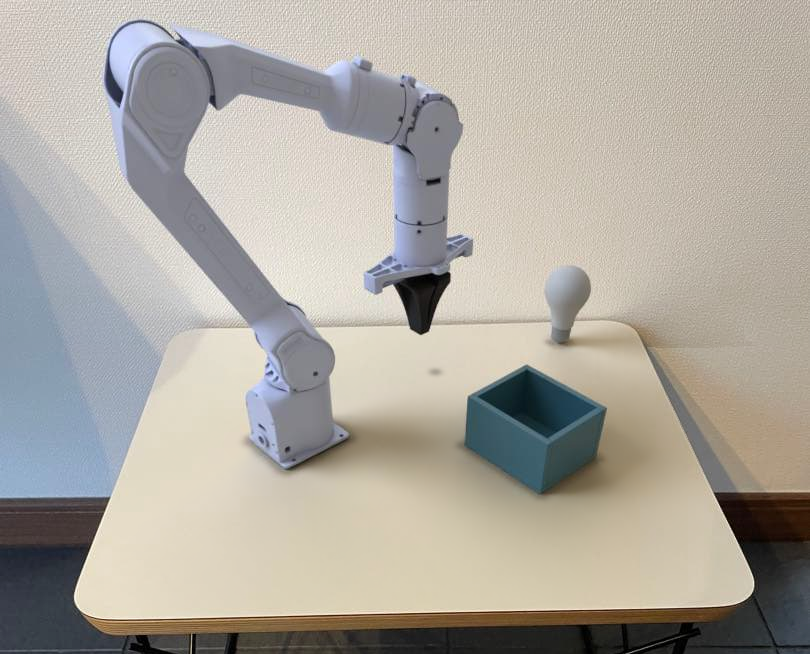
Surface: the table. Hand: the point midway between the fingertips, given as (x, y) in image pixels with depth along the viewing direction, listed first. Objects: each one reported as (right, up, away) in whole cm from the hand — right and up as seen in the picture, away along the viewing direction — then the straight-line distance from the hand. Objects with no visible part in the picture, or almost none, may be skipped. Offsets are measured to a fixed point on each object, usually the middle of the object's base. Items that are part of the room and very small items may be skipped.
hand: (419, 330), depth 90 cm
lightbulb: (+20, +3, +18) cm, 27 cm away
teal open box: (+9, -14, -4) cm, 17 cm away
